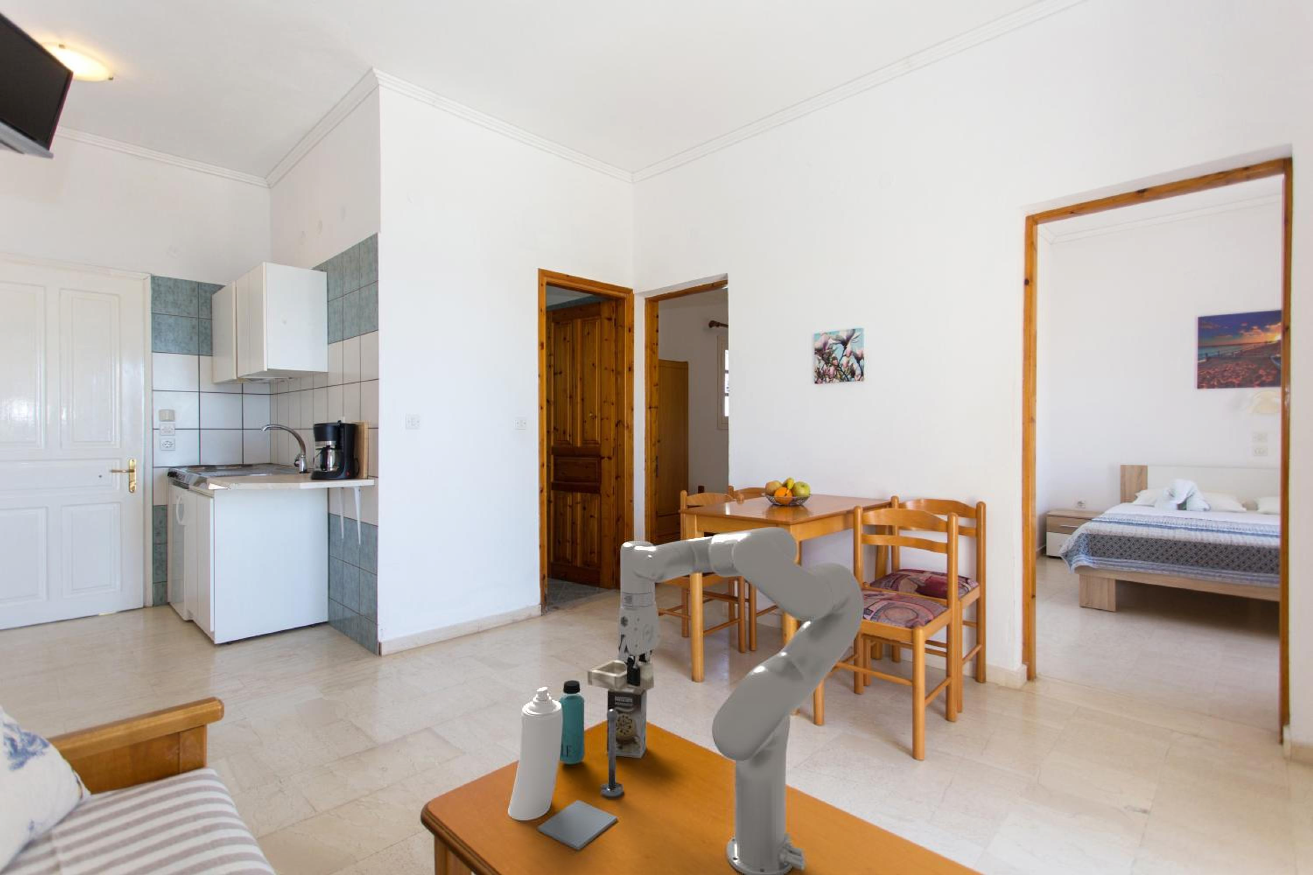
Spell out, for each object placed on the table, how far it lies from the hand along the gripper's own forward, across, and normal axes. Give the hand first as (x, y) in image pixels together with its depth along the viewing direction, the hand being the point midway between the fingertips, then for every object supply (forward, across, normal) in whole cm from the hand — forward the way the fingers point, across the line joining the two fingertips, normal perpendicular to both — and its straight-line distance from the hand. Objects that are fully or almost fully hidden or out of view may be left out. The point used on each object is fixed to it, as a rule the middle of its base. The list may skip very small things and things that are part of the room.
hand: (637, 682), depth 139 cm
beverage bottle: (+26, +4, +23) cm, 35 cm away
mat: (+26, -14, +5) cm, 30 cm away
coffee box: (+26, +17, +16) cm, 35 cm away
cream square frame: (+1, 0, +3) cm, 4 cm away
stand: (+26, 0, +7) cm, 27 cm away
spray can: (+26, -14, +18) cm, 35 cm away
